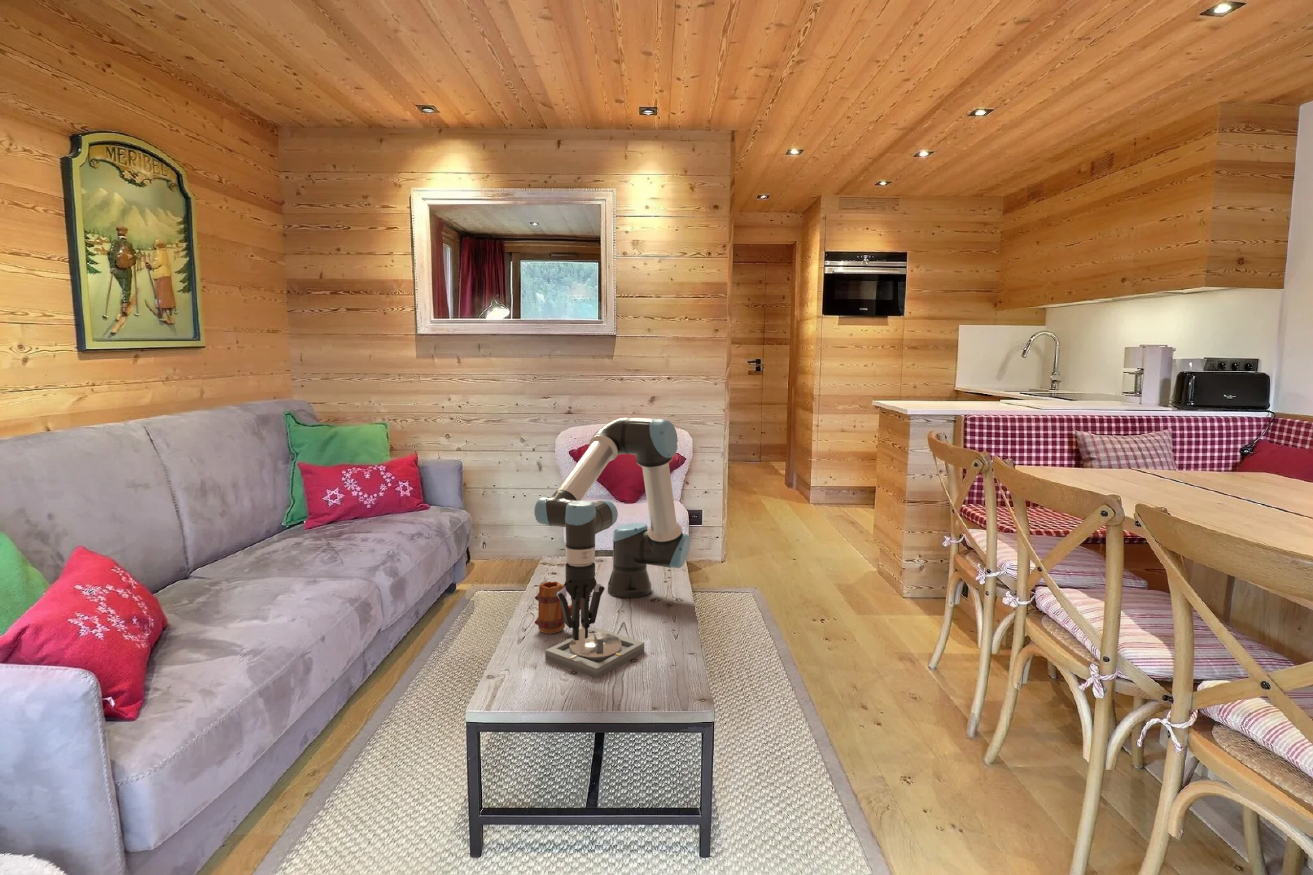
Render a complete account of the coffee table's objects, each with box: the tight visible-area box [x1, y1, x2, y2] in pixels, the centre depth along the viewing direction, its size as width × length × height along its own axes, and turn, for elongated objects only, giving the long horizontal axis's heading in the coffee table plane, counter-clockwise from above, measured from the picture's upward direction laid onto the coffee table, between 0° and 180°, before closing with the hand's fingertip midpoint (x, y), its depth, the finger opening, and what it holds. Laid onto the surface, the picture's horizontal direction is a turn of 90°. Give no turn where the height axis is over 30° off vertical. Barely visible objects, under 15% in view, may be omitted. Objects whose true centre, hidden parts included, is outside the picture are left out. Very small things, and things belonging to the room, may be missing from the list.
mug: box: [534, 581, 581, 635], centre depth 202 cm, size 15×8×15 cm, turn 105°
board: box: [544, 626, 645, 680], centre depth 185 cm, size 20×18×3 cm
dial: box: [570, 632, 622, 662], centre depth 185 cm, size 14×14×6 cm
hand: (580, 650), depth 177 cm, fingers closed
